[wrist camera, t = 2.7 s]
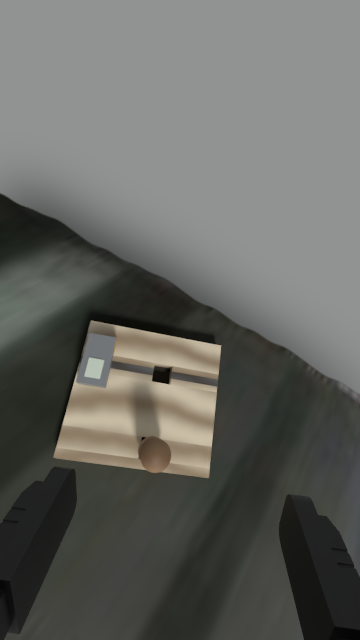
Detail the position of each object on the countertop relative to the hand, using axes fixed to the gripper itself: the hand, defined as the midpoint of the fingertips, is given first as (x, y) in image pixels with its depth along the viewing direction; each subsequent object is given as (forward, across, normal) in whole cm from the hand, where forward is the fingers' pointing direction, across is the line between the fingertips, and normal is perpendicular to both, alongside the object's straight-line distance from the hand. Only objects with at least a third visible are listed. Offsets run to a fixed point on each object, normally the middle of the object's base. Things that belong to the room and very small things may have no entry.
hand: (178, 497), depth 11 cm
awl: (+29, -6, -25) cm, 39 cm away
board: (+34, -7, -19) cm, 40 cm away
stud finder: (+34, -15, -13) cm, 39 cm away
